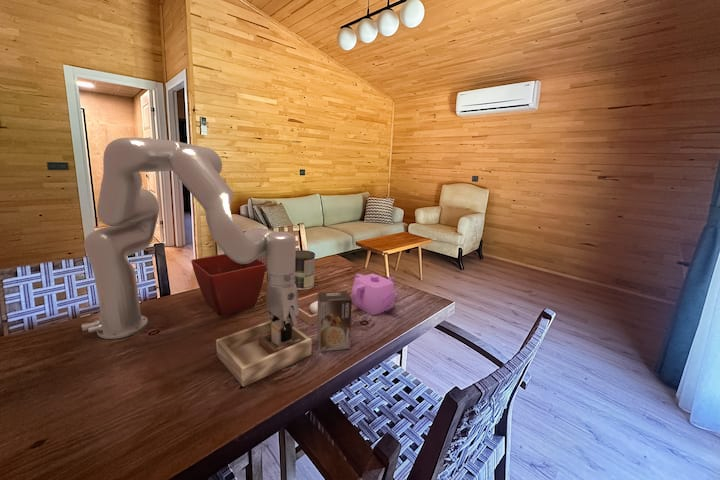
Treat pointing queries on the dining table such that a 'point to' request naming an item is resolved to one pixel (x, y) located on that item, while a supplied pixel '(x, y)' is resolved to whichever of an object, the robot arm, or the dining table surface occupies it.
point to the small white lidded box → (277, 333)
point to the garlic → (314, 307)
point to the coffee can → (304, 269)
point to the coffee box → (334, 320)
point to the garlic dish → (302, 314)
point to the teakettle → (373, 293)
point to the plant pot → (228, 283)
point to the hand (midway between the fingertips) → (281, 335)
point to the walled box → (260, 352)
